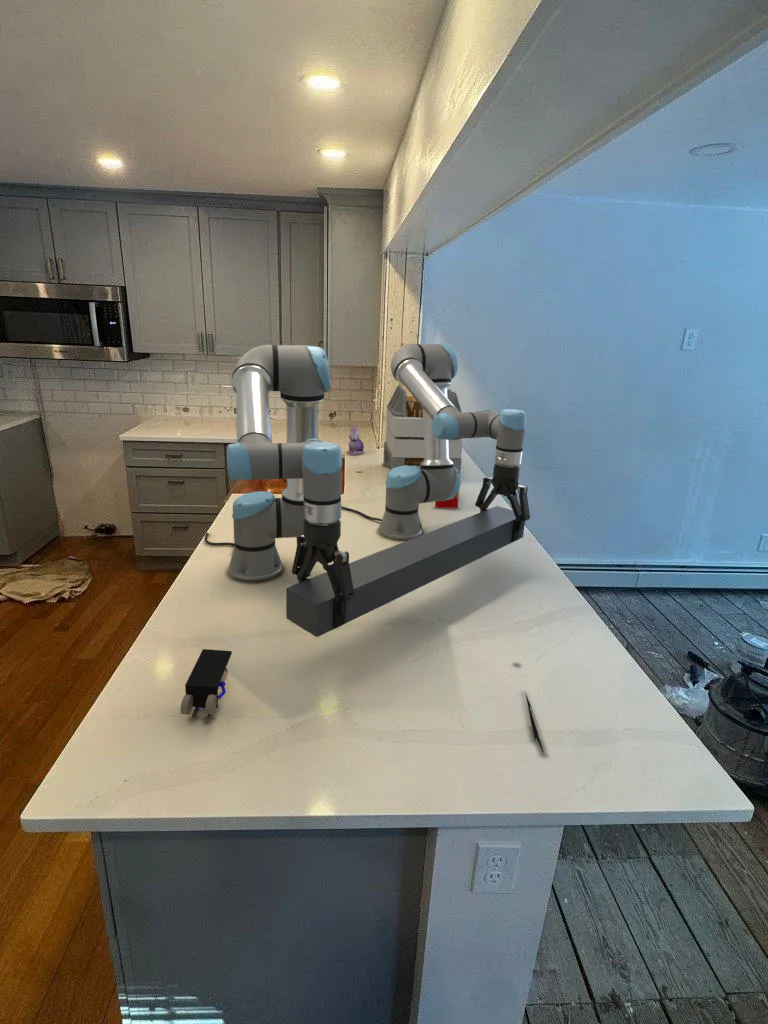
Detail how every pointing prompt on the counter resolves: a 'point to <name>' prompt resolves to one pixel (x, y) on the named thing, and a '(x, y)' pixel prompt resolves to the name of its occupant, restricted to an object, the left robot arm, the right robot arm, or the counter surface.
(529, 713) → the feather
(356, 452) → the figurine
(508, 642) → the counter surface
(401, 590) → the dark gray long bar
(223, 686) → the black toy cart
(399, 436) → the grey slatted crate
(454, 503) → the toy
